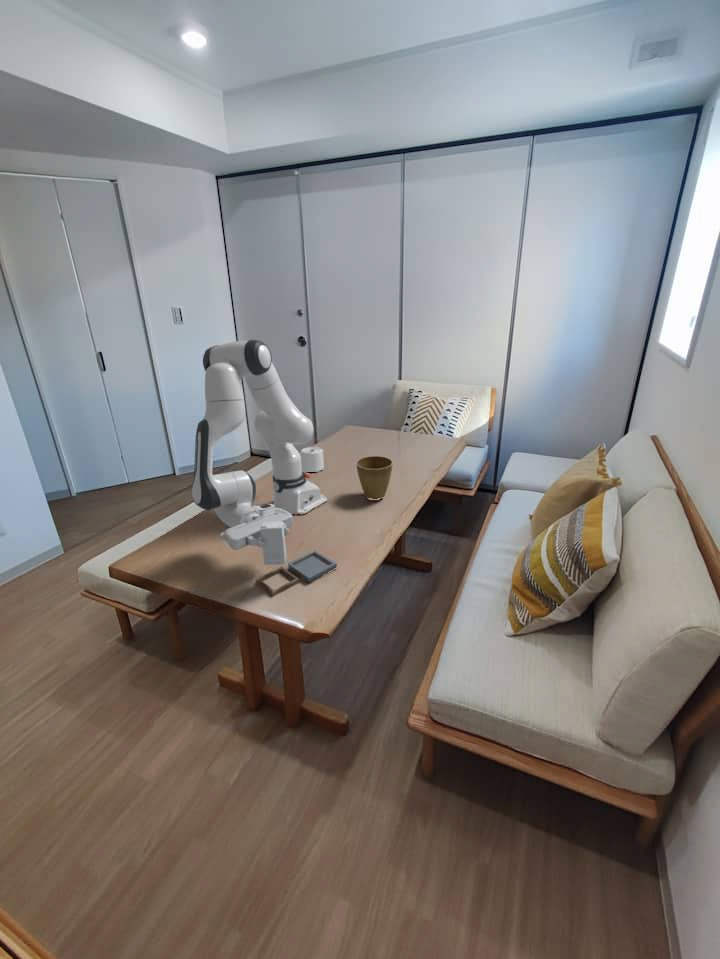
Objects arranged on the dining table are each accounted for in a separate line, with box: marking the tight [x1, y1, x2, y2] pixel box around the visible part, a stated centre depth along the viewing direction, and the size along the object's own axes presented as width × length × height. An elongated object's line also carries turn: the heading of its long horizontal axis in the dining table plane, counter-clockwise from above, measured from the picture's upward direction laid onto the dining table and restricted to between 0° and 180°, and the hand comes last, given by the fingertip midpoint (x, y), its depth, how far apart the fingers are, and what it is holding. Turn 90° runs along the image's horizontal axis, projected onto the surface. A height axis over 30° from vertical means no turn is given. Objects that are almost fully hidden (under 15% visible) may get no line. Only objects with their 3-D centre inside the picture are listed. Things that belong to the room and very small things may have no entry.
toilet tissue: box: [300, 446, 325, 472], centre depth 206 cm, size 11×12×10 cm
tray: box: [287, 550, 338, 585], centre depth 131 cm, size 11×11×2 cm
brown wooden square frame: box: [255, 565, 300, 597], centre depth 125 cm, size 9×9×1 cm
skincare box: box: [260, 522, 288, 566], centre depth 120 cm, size 6×4×12 cm
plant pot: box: [355, 455, 393, 499], centre depth 175 cm, size 15×15×16 cm
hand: (275, 538), depth 119 cm, fingers closed on skincare box, 7 cm apart
